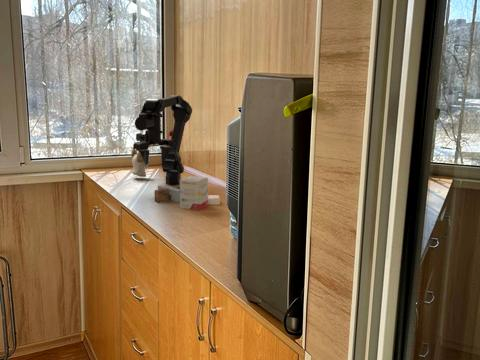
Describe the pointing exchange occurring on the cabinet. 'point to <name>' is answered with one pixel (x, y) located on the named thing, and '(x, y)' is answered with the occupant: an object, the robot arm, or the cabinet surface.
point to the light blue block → (172, 192)
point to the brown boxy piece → (163, 194)
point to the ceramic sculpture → (138, 164)
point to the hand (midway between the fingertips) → (154, 163)
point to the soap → (213, 199)
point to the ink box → (194, 192)
